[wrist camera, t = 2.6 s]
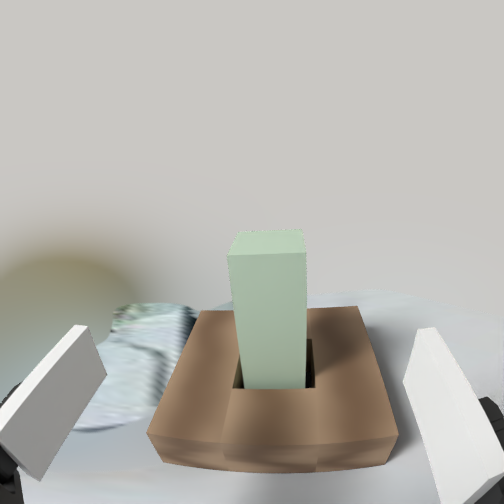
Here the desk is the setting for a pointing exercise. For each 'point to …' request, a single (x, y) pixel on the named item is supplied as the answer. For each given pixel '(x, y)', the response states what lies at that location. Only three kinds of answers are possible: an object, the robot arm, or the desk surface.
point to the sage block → (270, 307)
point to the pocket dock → (276, 403)
